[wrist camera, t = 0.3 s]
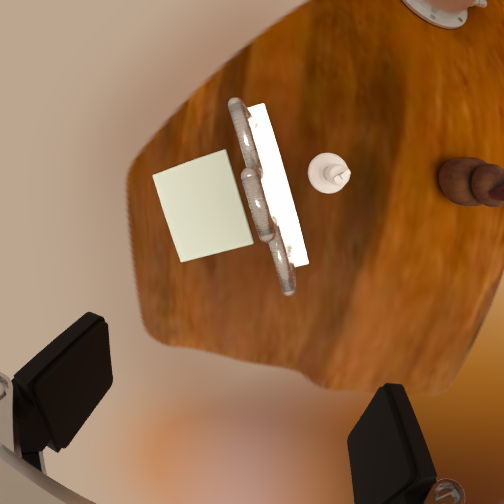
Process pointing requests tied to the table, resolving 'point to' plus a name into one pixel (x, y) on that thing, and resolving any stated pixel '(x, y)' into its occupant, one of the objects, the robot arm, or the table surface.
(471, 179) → the wooden figurine
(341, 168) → the chess piece
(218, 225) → the pad
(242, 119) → the silver metal frame stand
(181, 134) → the table surface
